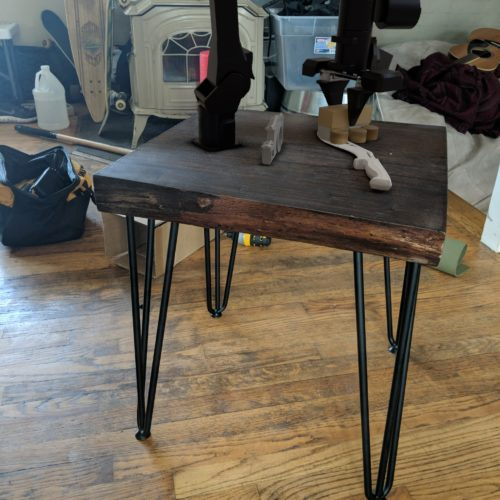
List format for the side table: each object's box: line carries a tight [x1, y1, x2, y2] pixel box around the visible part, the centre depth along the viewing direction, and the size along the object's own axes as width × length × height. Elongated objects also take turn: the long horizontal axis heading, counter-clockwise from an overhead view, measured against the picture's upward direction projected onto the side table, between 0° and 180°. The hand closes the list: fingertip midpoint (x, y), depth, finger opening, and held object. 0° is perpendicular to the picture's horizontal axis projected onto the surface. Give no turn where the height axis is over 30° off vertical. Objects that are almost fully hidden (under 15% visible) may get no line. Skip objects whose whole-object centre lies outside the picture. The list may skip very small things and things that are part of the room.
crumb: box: [362, 124, 380, 141], centre depth 93 cm, size 3×3×2 cm
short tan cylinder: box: [348, 127, 367, 144], centre depth 91 cm, size 3×3×2 cm
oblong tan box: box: [316, 103, 374, 140], centre depth 92 cm, size 4×10×5 cm, turn 126°
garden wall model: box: [260, 112, 286, 166], centre depth 82 cm, size 12×2×6 cm, turn 167°
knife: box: [316, 131, 393, 191], centre depth 83 cm, size 30×2×8 cm
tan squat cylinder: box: [330, 129, 349, 145], centre depth 88 cm, size 3×3×2 cm
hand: (344, 123), depth 92 cm, fingers closed on oblong tan box, 3 cm apart
